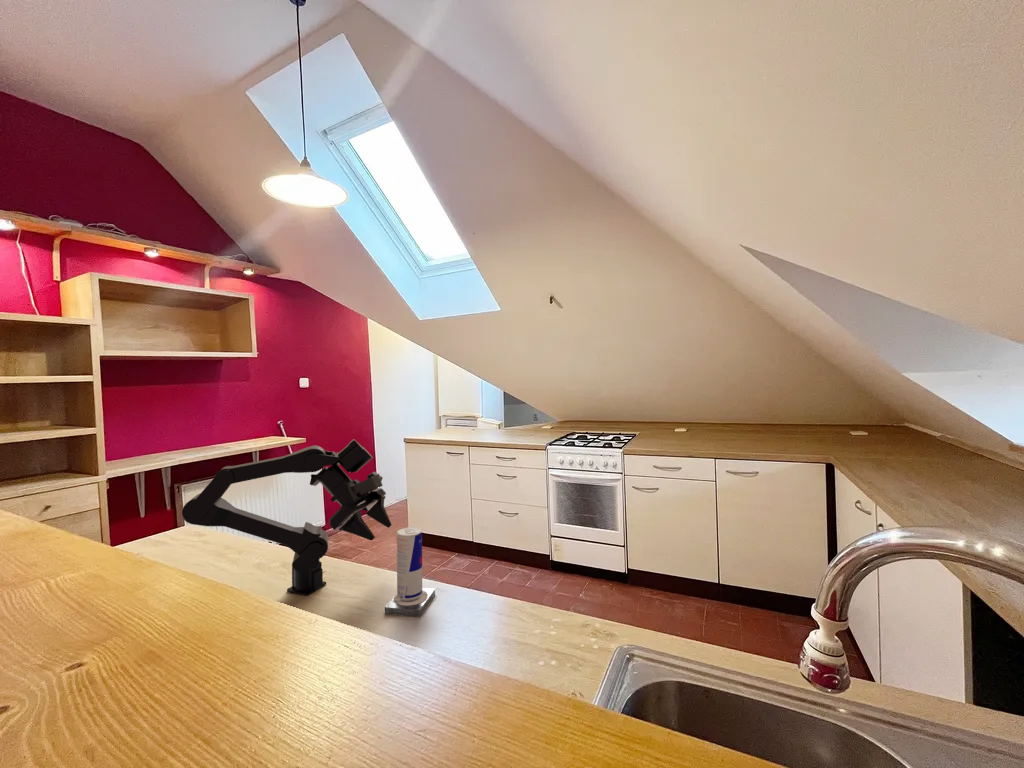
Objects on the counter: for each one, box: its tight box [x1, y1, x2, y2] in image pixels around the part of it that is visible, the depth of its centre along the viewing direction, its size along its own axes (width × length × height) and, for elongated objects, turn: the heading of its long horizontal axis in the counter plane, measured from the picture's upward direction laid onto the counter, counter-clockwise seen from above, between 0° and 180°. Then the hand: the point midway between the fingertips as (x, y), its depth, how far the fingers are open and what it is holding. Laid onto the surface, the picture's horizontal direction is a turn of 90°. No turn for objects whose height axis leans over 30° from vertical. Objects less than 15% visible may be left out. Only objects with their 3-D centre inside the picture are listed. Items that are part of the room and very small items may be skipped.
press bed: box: [384, 587, 436, 618], centre depth 100 cm, size 8×10×2 cm
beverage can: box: [396, 526, 423, 601], centre depth 100 cm, size 6×6×15 cm
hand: (382, 532), depth 108 cm, fingers open, 9 cm apart
